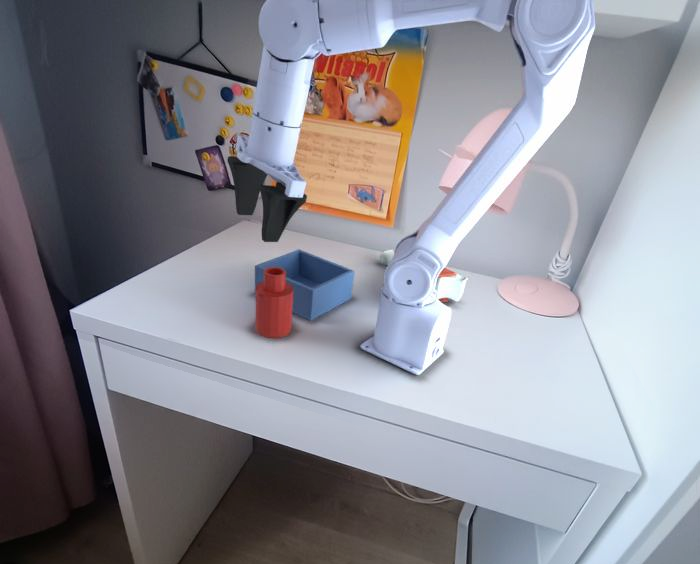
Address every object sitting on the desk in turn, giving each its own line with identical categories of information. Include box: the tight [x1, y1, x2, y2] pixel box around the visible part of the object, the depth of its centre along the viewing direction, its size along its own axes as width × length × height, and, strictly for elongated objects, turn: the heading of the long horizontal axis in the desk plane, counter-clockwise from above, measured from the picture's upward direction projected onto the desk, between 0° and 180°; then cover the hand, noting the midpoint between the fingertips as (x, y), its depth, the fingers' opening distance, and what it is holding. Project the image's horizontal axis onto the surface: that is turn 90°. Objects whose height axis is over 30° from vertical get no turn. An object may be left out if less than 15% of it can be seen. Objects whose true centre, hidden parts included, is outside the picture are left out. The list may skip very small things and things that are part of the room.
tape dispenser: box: [379, 249, 469, 303], centre depth 84 cm, size 18×5×20 cm
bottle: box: [254, 267, 293, 339], centre depth 65 cm, size 5×5×9 cm
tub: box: [254, 248, 355, 322], centre depth 76 cm, size 12×11×5 cm
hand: (256, 227), depth 62 cm, fingers open, 7 cm apart
